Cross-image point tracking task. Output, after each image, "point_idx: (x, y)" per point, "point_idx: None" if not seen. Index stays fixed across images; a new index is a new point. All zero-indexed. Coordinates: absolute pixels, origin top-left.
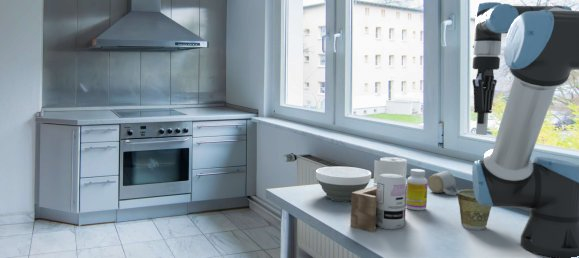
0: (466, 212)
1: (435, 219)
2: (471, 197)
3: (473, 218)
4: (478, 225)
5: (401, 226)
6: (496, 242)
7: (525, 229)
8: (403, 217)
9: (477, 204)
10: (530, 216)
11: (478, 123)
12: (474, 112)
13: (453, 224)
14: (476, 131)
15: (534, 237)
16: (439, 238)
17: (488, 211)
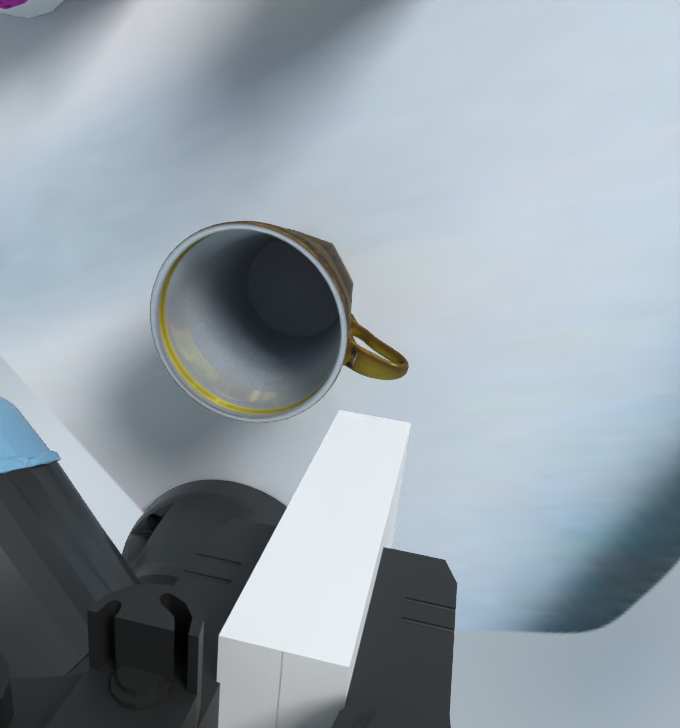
0: (211, 279)
1: (288, 88)
2: (152, 327)
3: (224, 309)
4: (252, 321)
5: (19, 16)
6: (160, 407)
7: (160, 525)
8: (6, 8)
9: (183, 347)
10: (144, 570)
11: (231, 532)
12: (146, 583)
13: (268, 197)
14: (330, 430)
15: (123, 550)
16: (45, 215)
17: (265, 375)
